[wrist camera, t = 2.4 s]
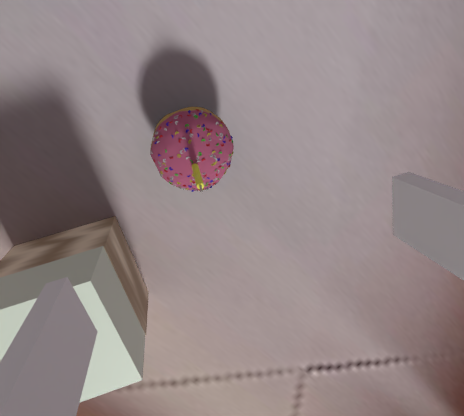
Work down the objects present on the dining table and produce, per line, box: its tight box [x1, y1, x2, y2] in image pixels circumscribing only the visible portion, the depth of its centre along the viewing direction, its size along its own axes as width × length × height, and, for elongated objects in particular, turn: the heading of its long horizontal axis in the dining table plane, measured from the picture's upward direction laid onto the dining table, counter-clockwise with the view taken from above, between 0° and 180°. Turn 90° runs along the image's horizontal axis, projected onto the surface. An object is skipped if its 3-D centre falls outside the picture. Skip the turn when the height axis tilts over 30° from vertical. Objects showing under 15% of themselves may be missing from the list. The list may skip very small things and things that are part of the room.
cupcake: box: [151, 107, 233, 193], centre depth 31 cm, size 9×8×12 cm
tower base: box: [0, 216, 149, 335], centre depth 36 cm, size 12×12×8 cm
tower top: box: [0, 246, 145, 403], centre depth 29 cm, size 12×12×6 cm
